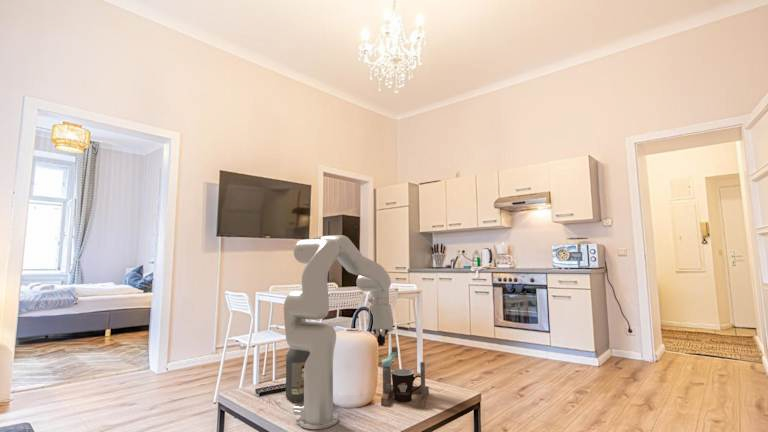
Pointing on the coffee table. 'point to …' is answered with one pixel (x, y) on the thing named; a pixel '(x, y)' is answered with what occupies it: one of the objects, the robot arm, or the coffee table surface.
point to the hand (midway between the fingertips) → (381, 345)
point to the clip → (390, 357)
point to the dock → (422, 390)
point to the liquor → (295, 374)
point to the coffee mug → (403, 384)
